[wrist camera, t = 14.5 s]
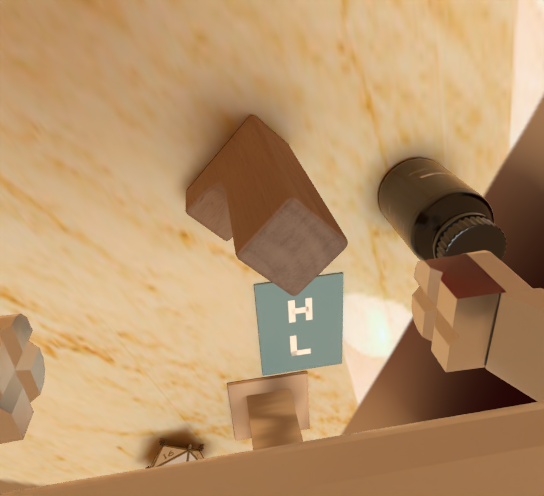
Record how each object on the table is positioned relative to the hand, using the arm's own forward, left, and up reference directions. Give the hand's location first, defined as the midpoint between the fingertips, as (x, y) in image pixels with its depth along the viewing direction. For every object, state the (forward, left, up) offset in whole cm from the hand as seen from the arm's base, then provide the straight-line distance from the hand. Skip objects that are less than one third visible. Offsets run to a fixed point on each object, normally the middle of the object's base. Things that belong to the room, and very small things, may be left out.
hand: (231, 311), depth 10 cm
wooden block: (+2, -8, -31) cm, 32 cm away
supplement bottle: (+18, -12, -31) cm, 38 cm away
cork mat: (+3, -37, -31) cm, 48 cm away
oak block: (+3, -37, -31) cm, 48 cm away
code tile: (+7, -26, -31) cm, 41 cm away
